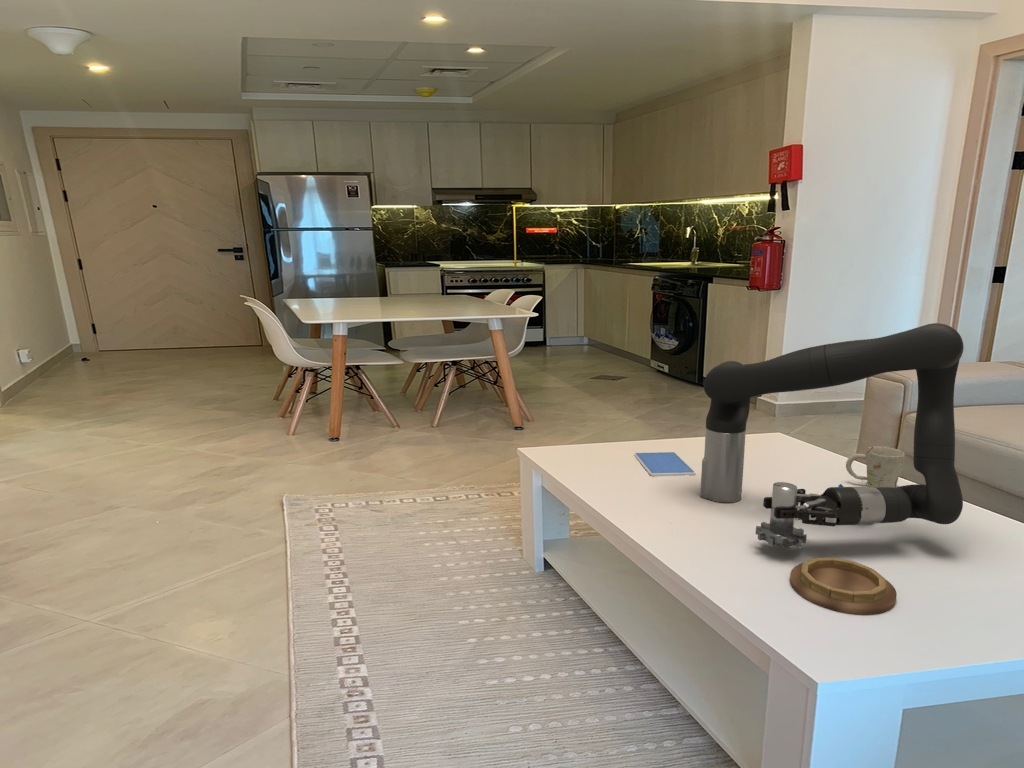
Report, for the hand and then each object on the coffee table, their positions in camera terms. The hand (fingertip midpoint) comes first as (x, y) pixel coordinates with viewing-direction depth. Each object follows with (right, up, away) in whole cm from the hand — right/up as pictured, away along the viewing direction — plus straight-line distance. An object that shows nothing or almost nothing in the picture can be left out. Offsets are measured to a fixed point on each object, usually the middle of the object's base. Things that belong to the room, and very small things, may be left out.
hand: (770, 507), depth 131 cm
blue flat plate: (-8, +1, +56) cm, 57 cm away
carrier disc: (+8, -12, -13) cm, 19 cm away
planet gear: (+3, -6, +2) cm, 7 cm away
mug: (+40, -2, +36) cm, 54 cm away
